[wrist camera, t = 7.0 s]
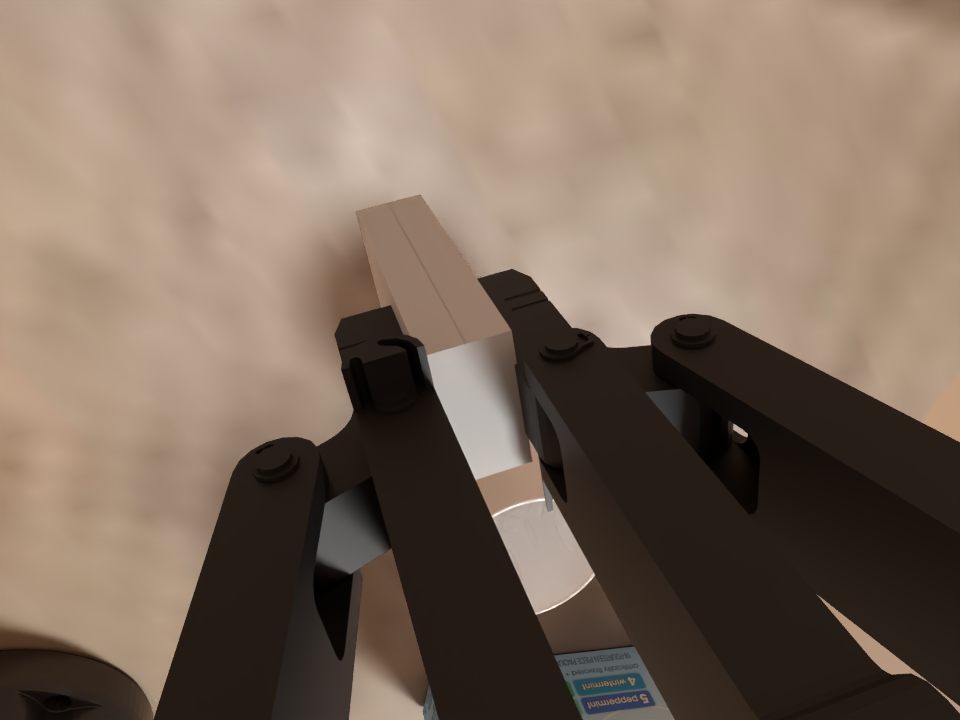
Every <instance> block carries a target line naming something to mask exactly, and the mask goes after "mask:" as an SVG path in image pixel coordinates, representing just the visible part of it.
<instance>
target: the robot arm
mask: <svg viewBox="0 0 960 720" xmlns="http://www.w3.org/2000/svg"><path fill="white" fill-rule="evenodd" d="M356 215H357V219H358V223H359V226H360V230H361V234H362V238H363V242H364V245H365V249H366V253H367V257H368V261H369V264H370V268H371V272H372V276H373V279H374V283H375V287H376V291H377V295H378V298H379V302H380V306H381V308H379V309H375V310H371V311H368V312H364V313H361V314H357V315H354V316H350V317H347V318H343V319H341V321H340V323H339V326H338V328H337V330H336V332H335V338H336V342H337V345H338V349H339V353H340V356H341V360H342V367H341V371H342V374H343V377H344V380H345V383H346V387H347V390H348V393H349V396H350V399H351V403H352V406H353V409H354V411H353V414H352V417H351V419H350V421H349V422H348V424H347V425H346V426H345V428H343V429H342V430H341V431H340V432H339V433H338V434H337V435H335V436H334V437H332V438H331V439H329V440H328V441H326V442H324V443H322V444H321V445H319V446H317V447H316V446H315V445H314V444H313V443H312V442H311V441H310V440H306V439H303V438H300V437H287V438H280V439H276V440H273V441H269V442H266V443H264V444H262V445H260V446H258V447H257V448H255V449H253V450H251V451H250V452H249V453H248V454H247V455H245V456H244V457H243V458H242V459H241V460H240V461H239V462H238V464H237V466H236V468H235V469H234V471H233V473H232V476H231V479H230V482H229V485H228V488H227V492H226V495H225V498H224V501H223V504H222V507H221V510H220V513H219V517H218V520H217V523H216V526H215V529H214V532H213V535H212V538H211V542H210V545H209V548H208V551H207V554H206V557H205V560H204V563H203V567H202V570H201V573H200V576H199V579H198V582H197V585H196V588H195V592H194V595H193V598H192V601H191V604H190V607H189V610H188V613H187V617H186V620H185V623H184V626H183V629H182V632H181V635H180V638H179V642H178V645H177V648H176V651H175V654H174V657H173V660H172V663H171V667H170V670H169V673H168V676H167V679H166V682H165V685H164V688H163V692H162V695H161V698H160V701H159V704H158V707H157V710H156V713H155V717H154V720H349V712H350V701H351V691H352V681H353V671H354V660H355V650H356V640H357V629H358V619H359V609H360V598H361V588H362V573H361V567H362V566H364V565H366V564H367V563H369V562H370V561H372V560H373V559H375V558H377V557H378V556H380V555H381V554H383V553H384V552H386V551H388V550H389V549H391V548H392V551H393V554H394V558H395V562H396V565H397V569H398V572H399V576H400V580H401V583H402V587H403V591H404V594H405V598H406V602H407V605H408V609H409V613H410V616H411V620H412V623H413V627H414V631H415V634H416V638H417V642H418V645H419V649H420V653H421V656H422V660H423V664H424V667H425V671H426V674H427V678H428V682H429V685H430V689H431V693H432V696H433V700H434V704H435V707H436V711H437V715H438V718H439V720H583V719H582V717H581V715H580V712H579V710H578V708H577V706H576V703H575V701H574V699H573V697H572V694H571V692H570V690H569V688H568V686H567V683H566V681H565V679H564V677H563V674H562V672H561V670H560V668H559V665H558V663H557V661H556V659H555V656H554V654H553V652H552V650H551V648H550V645H549V643H548V641H547V639H546V636H545V634H544V632H543V630H542V627H541V625H540V623H539V621H538V618H537V616H536V614H535V612H534V609H533V607H532V605H531V603H530V601H529V598H528V596H527V594H526V592H525V589H524V587H523V585H522V583H521V580H520V578H519V576H518V574H517V571H516V569H515V567H514V565H513V563H512V560H511V558H510V556H509V554H508V551H507V549H506V547H505V545H504V542H503V540H502V538H501V536H500V533H499V531H498V529H497V527H496V525H495V522H494V520H493V518H492V516H491V513H490V511H489V509H488V507H487V504H486V502H485V500H484V498H483V495H482V493H481V491H480V489H479V487H478V484H477V482H476V480H477V479H480V478H483V477H486V476H489V475H492V474H495V473H499V472H502V471H505V470H508V469H511V468H514V467H517V466H520V465H523V464H526V463H530V462H533V461H532V454H531V448H530V442H529V440H530V441H531V443H532V445H533V447H534V448H535V450H536V452H537V454H538V457H539V464H540V470H541V477H542V483H543V490H544V496H545V503H546V507H547V511H548V512H550V511H553V510H554V509H553V502H552V500H553V499H554V501H555V503H556V505H557V507H558V509H559V510H560V512H561V514H562V516H563V518H564V519H565V521H566V523H567V525H568V527H569V529H570V530H571V532H572V534H573V536H574V538H575V539H576V541H577V543H578V545H579V547H580V548H581V550H582V552H583V554H584V556H585V558H586V559H587V561H588V563H589V565H590V567H591V568H592V570H593V572H594V574H595V576H596V578H597V579H598V581H599V583H600V585H601V587H602V588H603V590H604V592H605V594H606V596H607V598H608V599H609V601H610V603H611V605H612V607H613V608H614V610H615V612H616V614H617V616H618V618H619V619H620V621H621V623H622V625H623V627H624V628H625V630H626V632H627V634H628V636H629V638H630V639H631V641H632V643H633V645H634V647H635V648H636V650H637V652H638V654H639V656H640V657H641V659H642V661H643V663H644V665H645V667H646V668H647V670H648V672H649V674H650V676H651V677H652V679H653V681H654V683H655V685H656V687H657V688H658V690H659V692H660V694H661V696H662V697H663V699H664V701H665V703H666V705H667V707H668V708H669V710H670V712H671V714H672V716H673V717H674V719H675V720H960V713H959V712H958V711H957V710H956V709H955V708H954V707H953V706H952V705H951V704H950V702H949V701H948V700H947V699H946V698H945V697H944V696H942V695H941V694H940V693H939V692H938V691H937V690H936V689H935V688H934V687H933V686H935V687H936V688H937V689H939V690H940V691H941V692H943V693H944V694H945V695H946V696H948V697H949V698H950V699H951V700H953V701H954V702H955V703H956V704H958V705H959V706H960V442H958V441H956V440H954V439H952V438H950V437H948V436H946V435H944V434H943V433H941V432H939V431H937V430H935V429H933V428H931V427H929V426H927V425H925V424H923V423H921V422H919V421H918V420H916V419H914V418H912V417H910V416H908V415H906V414H904V413H902V412H900V411H898V410H896V409H894V408H892V407H890V406H888V405H887V404H885V403H883V402H881V401H879V400H877V399H875V398H873V397H871V396H869V395H867V394H865V393H863V392H861V391H859V390H857V389H856V388H854V387H852V386H850V385H848V384H846V383H844V382H842V381H840V380H838V379H836V378H834V377H832V376H830V375H828V374H826V373H825V372H823V371H821V370H819V369H817V368H815V367H813V366H811V365H809V364H807V363H805V362H803V361H801V360H799V359H797V358H795V357H794V356H792V355H790V354H788V353H786V352H784V351H782V350H780V349H778V348H776V347H774V346H772V345H770V344H768V343H766V342H764V341H763V340H761V339H759V338H757V337H755V336H753V335H751V334H749V333H747V332H745V331H743V330H741V329H739V328H737V327H735V326H733V325H732V324H730V323H728V322H726V321H724V320H721V319H718V318H715V317H712V316H709V315H699V314H687V315H679V316H676V317H673V318H670V319H667V320H664V321H663V322H661V323H660V324H658V325H657V326H656V327H655V328H654V330H653V332H652V334H651V345H648V346H638V347H628V348H609V347H606V346H605V344H604V343H603V342H602V341H601V340H600V338H598V337H597V336H596V335H594V334H593V333H591V332H589V331H586V330H582V329H579V328H572V327H571V326H570V325H569V324H568V323H567V321H566V320H565V319H564V318H563V316H562V315H561V314H560V313H559V311H558V310H557V309H556V308H555V307H554V305H553V304H552V303H551V302H550V301H548V298H547V297H546V295H545V294H544V293H543V292H542V291H540V288H539V287H538V286H537V284H536V283H535V282H534V281H533V279H532V278H531V277H530V276H527V275H525V274H523V273H520V272H518V271H516V270H513V269H510V270H507V271H503V272H499V273H496V274H492V275H489V276H485V277H482V278H478V279H477V278H476V277H475V275H474V274H473V272H472V271H471V269H470V268H469V266H468V265H467V263H466V262H465V260H464V259H463V257H462V256H461V254H460V253H459V251H458V250H457V248H456V247H455V245H454V244H453V242H452V241H451V239H450V238H449V237H448V235H447V234H446V232H445V231H444V229H443V228H442V226H441V225H440V223H439V222H438V220H437V219H436V217H435V216H434V214H433V213H432V211H431V210H430V208H429V207H428V205H427V204H426V202H425V201H424V199H423V198H422V196H421V195H417V196H413V197H409V198H405V199H401V200H397V201H394V202H390V203H386V204H382V205H378V206H374V207H371V208H367V209H363V210H359V211H356ZM733 423H734V424H735V425H737V426H738V427H740V428H742V429H743V430H744V431H745V432H746V433H748V437H744V436H742V435H740V434H739V433H737V432H736V431H734V430H733ZM817 595H819V596H820V597H821V598H822V599H824V600H825V601H826V602H828V603H829V604H830V605H831V606H833V607H834V608H835V609H836V610H838V611H839V612H840V613H842V614H843V615H844V616H845V617H847V618H848V619H849V620H851V621H852V622H853V623H854V624H856V625H857V626H858V627H859V628H861V629H862V630H863V631H864V632H866V633H867V634H868V635H870V636H871V637H872V638H873V639H875V640H876V641H877V642H879V643H880V644H881V645H882V646H884V647H885V648H886V649H888V650H889V651H890V652H891V653H893V654H894V655H895V656H896V657H898V658H899V659H900V660H902V661H903V662H904V663H905V664H907V665H908V666H909V667H910V668H912V669H913V670H914V671H916V672H917V673H918V674H920V675H921V676H922V677H923V678H925V679H926V680H927V681H928V682H930V683H931V684H932V685H933V686H932V685H931V684H929V683H928V682H927V681H925V680H923V679H921V678H919V677H917V676H915V675H913V674H896V675H891V674H889V673H887V672H885V671H884V670H882V669H881V668H880V667H879V666H878V665H877V664H876V663H875V662H874V661H873V660H872V659H871V658H870V657H869V656H868V655H867V653H865V651H864V650H863V649H862V648H861V646H860V645H859V644H858V643H857V642H856V640H855V639H854V638H853V637H852V636H851V635H850V633H849V632H848V631H847V630H846V629H845V627H844V626H843V625H842V624H841V623H840V622H839V620H838V619H837V618H836V617H835V616H834V615H833V613H832V612H831V611H830V610H829V609H828V607H827V606H826V605H825V604H824V603H823V602H822V600H821V599H820V598H819V597H818V596H817ZM0 720H153V712H152V708H151V705H150V703H149V701H148V699H147V697H146V696H145V694H144V693H143V692H142V690H141V689H140V688H139V687H138V686H137V685H136V684H135V683H134V682H133V681H132V680H130V679H129V678H128V677H126V676H125V675H123V674H122V673H120V672H119V671H117V670H115V669H113V668H111V667H109V666H107V665H105V664H102V663H99V662H97V661H94V660H91V659H88V658H84V657H80V656H76V655H71V654H66V653H60V652H52V651H39V650H12V651H0Z"/></svg>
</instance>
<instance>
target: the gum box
mask: <svg viewBox="0 0 960 720" xmlns="http://www.w3.org/2000/svg"><path fill="white" fill-rule="evenodd" d="M554 656H555V659H556V661H557V663H558V665H559V668H560V670H561V672H562V674H563V677H564V679H565V681H566V683H567V686H568V688H569V690H570V692H571V694H572V697H573V699H574V701H575V703H576V706H577V708H578V710H579V712H580V715H581V717H582V719H583V720H675V719H674V717H673V716H672V714H671V712H670V710H669V708H668V707H667V705H666V703H665V701H664V699H663V697H662V696H661V694H660V692H659V690H658V688H657V687H656V685H655V683H654V681H653V679H652V677H651V676H650V674H649V672H648V670H647V668H646V667H645V665H644V663H643V661H642V659H641V657H640V656H639V654H638V652H637V650H636V648H635V647H625V648H616V649H607V650H598V651H589V652H581V653H571V654H562V655H554ZM423 715H424V719H425V720H439V718H438V715H437V711H436V707H435V704H434V700H433V696H432V693H431V689H430V685H429V686H428V691H427V696H426V700H425V704H424V708H423Z"/></svg>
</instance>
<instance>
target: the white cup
mask: <svg viewBox="0 0 960 720" xmlns="http://www.w3.org/2000/svg"><path fill="white" fill-rule="evenodd" d="M529 442H530V448H531V454H532V461H533V462H530V463H526V464H523V465H520V466H517V467H514V468H511V469H508V470H505V471H502V472H499V473H495V474H492V475H489V476H486V477H483V478H480V479H477V480H476V482H477V484H478V487H479V489H480V491H481V493H482V495H483V498H484V500H485V502H486V504H487V507H488V509H489V511H490V513H491V516H492V518H493V520H494V522H495V525H496V527H497V529H498V531H499V533H500V536H501V538H502V540H503V542H504V545H505V547H506V549H507V551H508V554H509V556H510V558H511V560H512V563H513V565H514V567H515V569H516V571H517V574H518V576H519V578H520V580H521V583H522V585H523V587H524V589H525V592H526V594H527V596H528V598H529V601H530V603H531V605H532V607H533V609H534V612H535V614H536V615H537V614H540V613H543V612H545V611H548V610H550V609H552V608H555V607H557V606H559V605H560V604H562V603H564V602H566V601H567V600H569V599H570V598H572V597H573V596H574V595H576V594H577V593H578V592H579V591H581V590H582V589H583V588H584V587H585V586H586V585H587V584H588V583H589V582H590V581H591V580H592V578H593V577H594V576H595V574H594V572H593V570H592V568H591V567H590V565H589V563H588V561H587V559H586V558H585V556H584V554H583V552H582V550H581V548H580V547H579V545H578V543H577V541H576V539H575V538H574V536H573V534H572V532H571V530H570V529H569V527H568V525H567V523H566V521H565V519H564V518H563V516H562V514H561V512H560V510H559V509H558V507H557V505H556V503H555V501H554V499H553V500H552V502H553V509H554V510H553V511H550V512H548V511H547V507H546V503H545V496H544V490H543V483H542V477H541V470H540V464H539V457H538V454H537V452H536V450H535V448H534V447H533V445H532V443H531V441H530V440H529Z"/></svg>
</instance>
